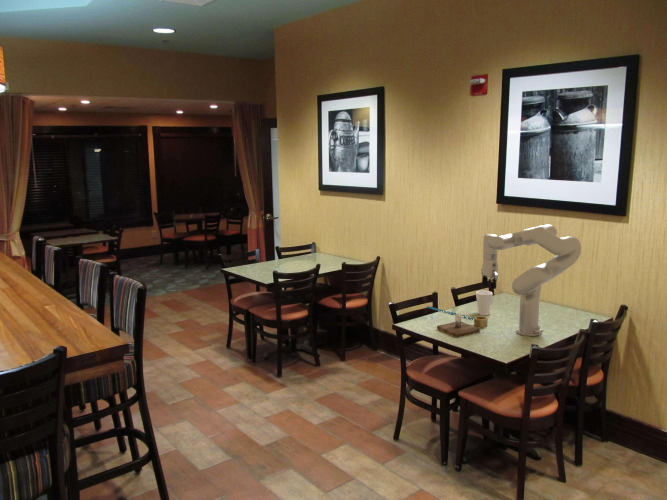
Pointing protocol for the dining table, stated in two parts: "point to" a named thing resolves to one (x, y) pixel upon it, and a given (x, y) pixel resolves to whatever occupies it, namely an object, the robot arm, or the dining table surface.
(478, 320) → the brass ring
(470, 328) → the walnut board
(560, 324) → the dining table surface
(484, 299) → the foam cup
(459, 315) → the steel post
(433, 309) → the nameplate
